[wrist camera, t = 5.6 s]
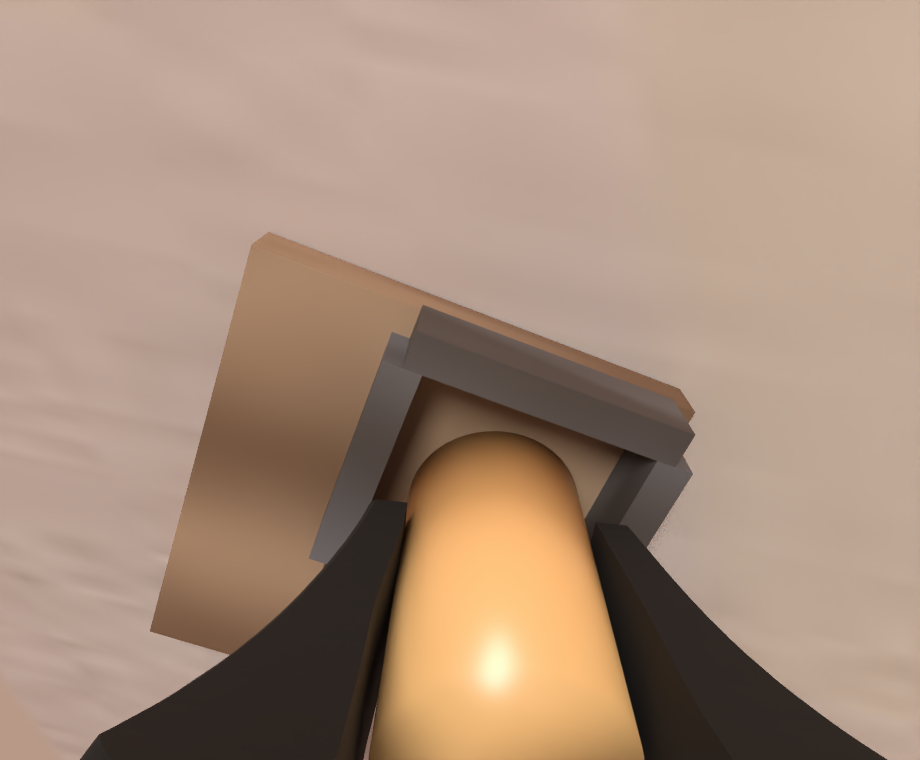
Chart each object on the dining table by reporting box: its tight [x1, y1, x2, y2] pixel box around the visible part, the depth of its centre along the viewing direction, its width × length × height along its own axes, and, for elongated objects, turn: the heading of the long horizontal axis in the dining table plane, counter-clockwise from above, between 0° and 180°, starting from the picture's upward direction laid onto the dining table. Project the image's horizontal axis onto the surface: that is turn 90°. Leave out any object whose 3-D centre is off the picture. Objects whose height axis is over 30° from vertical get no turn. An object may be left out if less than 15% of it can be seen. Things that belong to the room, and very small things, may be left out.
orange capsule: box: [369, 431, 644, 760], centre depth 11 cm, size 4×4×6 cm
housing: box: [150, 232, 695, 655], centre depth 15 cm, size 11×10×5 cm
